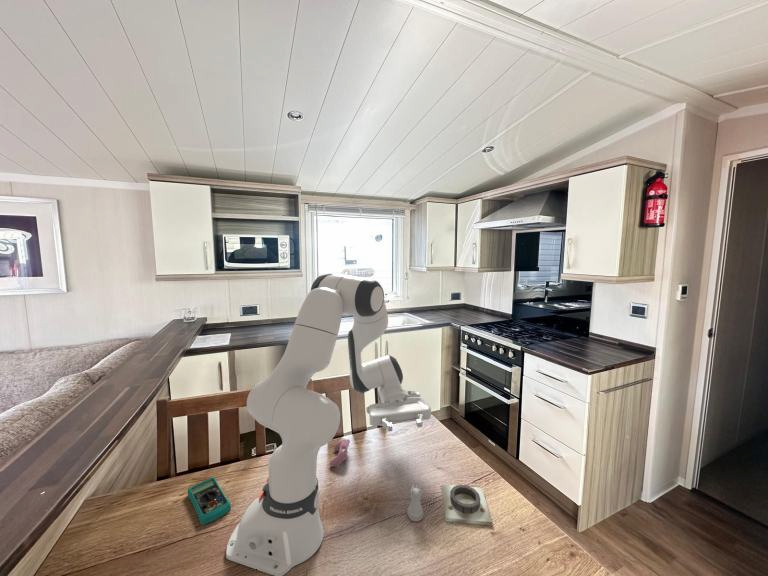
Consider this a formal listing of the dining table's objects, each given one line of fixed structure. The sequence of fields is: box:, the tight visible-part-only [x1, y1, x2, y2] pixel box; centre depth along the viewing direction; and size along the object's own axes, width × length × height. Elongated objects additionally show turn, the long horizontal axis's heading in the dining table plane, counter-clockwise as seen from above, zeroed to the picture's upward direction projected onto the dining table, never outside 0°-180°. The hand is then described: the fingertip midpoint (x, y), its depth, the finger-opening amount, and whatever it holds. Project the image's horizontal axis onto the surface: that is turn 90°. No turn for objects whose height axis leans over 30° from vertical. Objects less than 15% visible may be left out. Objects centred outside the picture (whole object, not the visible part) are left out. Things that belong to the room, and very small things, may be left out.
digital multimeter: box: [187, 477, 232, 526], centre depth 87 cm, size 7×15×3 cm, turn 45°
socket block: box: [440, 484, 493, 526], centre depth 88 cm, size 12×12×3 cm
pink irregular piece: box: [329, 438, 351, 468], centre depth 107 cm, size 10×5×7 cm, turn 0°
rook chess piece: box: [406, 484, 424, 523], centre depth 84 cm, size 4×4×8 cm
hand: (405, 427), depth 94 cm, fingers open, 8 cm apart
